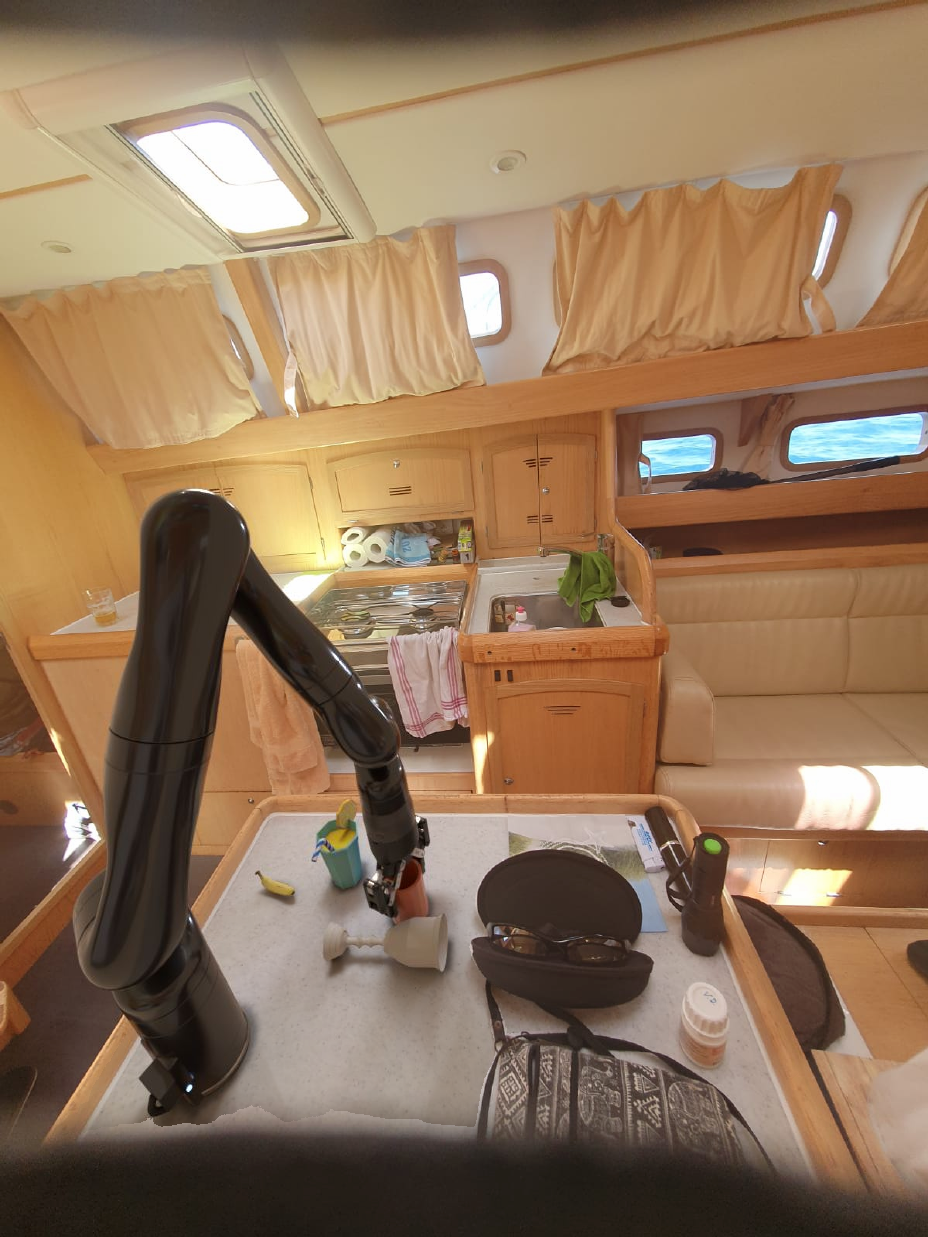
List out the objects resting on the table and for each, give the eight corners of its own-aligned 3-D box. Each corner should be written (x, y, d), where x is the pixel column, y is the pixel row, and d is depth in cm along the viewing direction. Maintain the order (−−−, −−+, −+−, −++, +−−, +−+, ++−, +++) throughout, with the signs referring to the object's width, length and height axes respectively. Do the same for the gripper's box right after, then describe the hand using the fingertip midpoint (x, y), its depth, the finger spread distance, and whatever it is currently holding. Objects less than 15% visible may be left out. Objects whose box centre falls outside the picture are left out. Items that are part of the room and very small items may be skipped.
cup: (354, 920, 75) (335, 858, 69) (310, 917, 76) (288, 856, 70) (378, 847, 88) (364, 789, 82) (340, 845, 89) (324, 788, 83)
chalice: (329, 978, 69) (444, 980, 66) (315, 959, 65) (436, 960, 63) (343, 925, 75) (449, 925, 72) (331, 905, 71) (441, 904, 69)
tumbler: (415, 936, 72) (407, 899, 68) (384, 919, 75) (375, 883, 71) (435, 901, 77) (428, 865, 73) (405, 887, 80) (397, 852, 76)
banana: (258, 890, 82) (252, 875, 80) (265, 881, 83) (259, 866, 82) (293, 903, 79) (287, 888, 77) (300, 894, 80) (294, 879, 79)
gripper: (397, 779, 74) (411, 849, 81) (338, 849, 63) (360, 923, 70) (436, 793, 71) (447, 864, 78) (381, 869, 60) (399, 945, 66)
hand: (406, 892), depth 74 cm, fingers open, 7 cm apart
